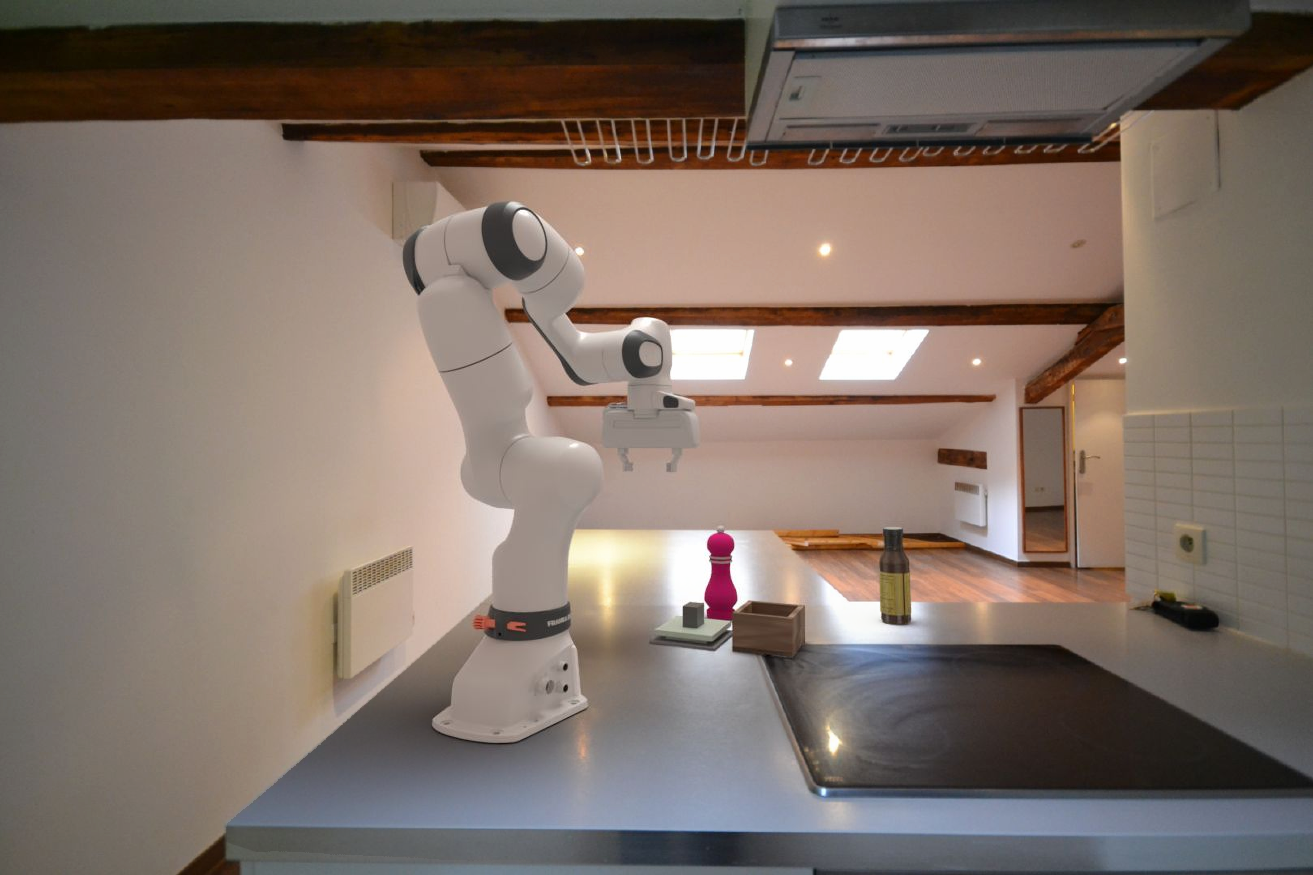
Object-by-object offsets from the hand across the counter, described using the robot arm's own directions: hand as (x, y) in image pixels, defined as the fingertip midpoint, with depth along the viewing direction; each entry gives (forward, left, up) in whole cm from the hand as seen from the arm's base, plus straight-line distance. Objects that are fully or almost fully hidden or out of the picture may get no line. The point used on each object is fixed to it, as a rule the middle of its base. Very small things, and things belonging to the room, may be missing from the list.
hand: (649, 471), depth 138 cm
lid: (+2, -8, -32) cm, 33 cm away
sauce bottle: (+30, -44, -33) cm, 62 cm away
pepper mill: (+19, -9, -33) cm, 39 cm away
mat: (+2, -8, -32) cm, 33 cm away
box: (+2, -24, -32) cm, 40 cm away
